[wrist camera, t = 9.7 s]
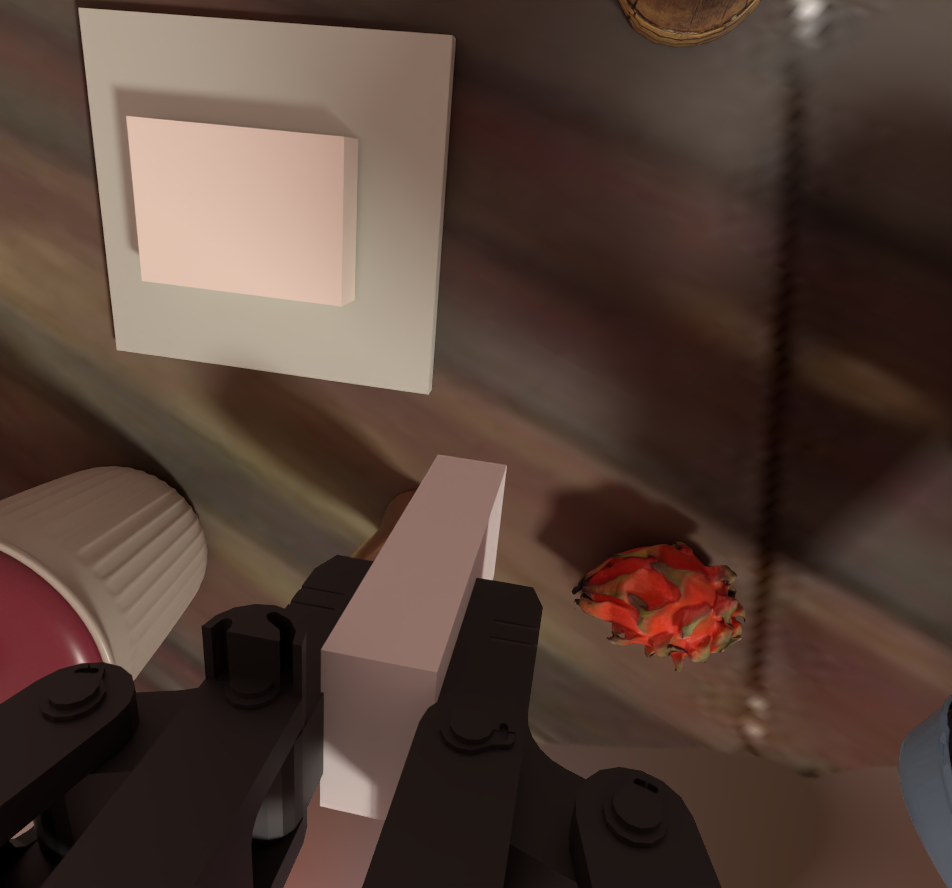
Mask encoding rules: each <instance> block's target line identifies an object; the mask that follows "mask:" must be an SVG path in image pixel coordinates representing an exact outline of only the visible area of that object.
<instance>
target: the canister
mask: <svg viewBox="0 0 952 888" xmlns="http://www.w3.org/2000/svg"><path fill="white" fill-rule="evenodd" d="M207 552H208V548H207V546H206V537H205V535H204V533H203V527H202V525H201V524H200V523H199V520H198V516H197V515H196V514H195V513H194V511H193V510H192V506H190V505H189V504H188V503H187V502H186V501H185V498H184V497H182V496H181V495H180V494H178V492H177V491H176V489H174V488H172V487H170V486H169V485H168V484H167V483H166V482H165V481H162V480H160V479H158V478H157V477H156V476H154V475H149V474H147V473H146V472H144V471H142V470H135V469H133V468H130V467H119V466H108V467H95V468H91V469H88V470H83V471H79V472H76V473H73V474H70V475H67V476H64V477H61V478H59V479H56V480H53V481H50V482H47V483H45V484H42V485H39V486H36V487H34V488H31V489H28V490H26V491H23V492H21V493H18V494H15V495H13V496H10V497H8V498H5V499H3V500H0V704H1V703H3V702H4V701H6V700H7V699H9V698H10V697H12V696H14V695H15V694H17V693H18V692H20V691H21V690H23V689H24V688H26V687H28V686H29V685H31V684H32V683H34V682H35V681H37V680H39V679H41V678H43V677H45V676H47V675H49V674H51V673H53V672H55V671H57V670H59V669H62V668H66V667H69V666H73V665H77V664H81V663H95V662H105V663H109V664H113V665H117V666H121V667H122V668H124V669H125V670H126V671H127V672H129V673H130V674H131V675H132V677H133V681H134V680H135V678H136V677H137V676H138V674H139V673H140V672H141V670H142V669H143V668H144V666H145V665H146V664H147V662H148V661H149V660H150V658H151V657H152V656H153V654H154V653H155V652H156V650H157V649H158V647H159V646H160V645H161V643H162V642H163V641H164V639H165V638H166V636H167V635H168V634H169V632H170V631H171V629H172V628H173V627H174V625H175V624H176V622H177V621H178V620H179V618H180V617H181V615H182V614H183V612H184V611H185V609H186V608H187V607H188V605H189V604H190V602H191V601H192V599H193V598H194V596H195V595H196V593H197V591H198V589H199V587H200V584H201V582H202V580H203V578H204V575H205V568H206V566H207Z"/></svg>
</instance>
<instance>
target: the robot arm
mask: <svg viewBox="0 0 952 888" xmlns="http://www.w3.org/2000/svg"><path fill="white" fill-rule="evenodd" d="M506 469H507V465H502V464H496V463H489V462H483V461H476V460H470V459H463V458H457V457H450V456H444V455H438V456H437V457H436V459H435V461H434V462H433V464H432V466H431V467H430V469H429V471H428V472H427V474H426V476H425V477H424V479H423V481H422V482H421V484H420V486H419V487H418V489H417V491H416V492H415V494H414V496H413V497H412V499H411V501H410V502H409V504H408V506H407V507H406V509H405V511H404V512H403V514H402V516H401V517H400V519H399V521H398V522H397V524H396V526H395V527H394V529H393V531H392V532H391V534H390V536H389V537H388V539H387V541H386V542H385V544H384V546H383V547H382V549H381V551H380V552H379V554H378V556H377V557H376V559H375V561H369V560H363V559H357V558H352V557H346V556H341V555H336V556H335V557H333V558H331V559H330V560H328V561H326V562H325V563H323V564H321V565H320V566H318V567H316V568H315V569H314V570H313V572H312V573H311V574H310V576H309V577H308V578H307V580H306V581H305V582H304V584H303V585H302V588H301V590H300V589H299V591H298V592H297V593H296V595H295V596H294V597H293V599H292V600H291V603H290V605H289V604H288V605H287V607H286V608H285V609H284V608H281V607H278V606H275V605H261V604H253V605H247V606H241V607H235V608H232V609H230V610H228V611H225V612H223V613H220V614H218V615H216V616H214V617H213V618H212V619H211V620H209V621H208V622H207V623H206V624H204V625H203V626H202V636H203V649H204V662H205V675H206V679H205V680H204V681H203V683H202V684H201V685H200V686H199V688H194V689H187V690H179V691H159V692H140V693H136V691H135V686H134V681H133V677H132V675H131V674H130V673H129V672H127V671H126V670H125V669H124V668H122V667H121V666H117V665H113V664H109V663H105V662H95V663H81V664H77V665H73V666H69V667H66V668H62V669H59V670H57V671H55V672H53V673H51V674H49V675H47V676H45V677H43V678H41V679H39V680H37V681H35V682H34V683H32V684H31V685H29V686H28V687H26V688H24V689H23V690H21V691H20V692H18V693H17V694H15V695H14V696H12V697H10V698H9V699H7V700H6V701H4V702H3V703H1V704H0V888H283V887H284V885H285V883H286V880H287V878H288V876H289V874H290V872H291V869H292V867H293V865H294V863H295V860H296V858H297V856H298V854H299V851H300V849H301V847H302V845H303V842H304V838H305V834H306V829H307V807H308V805H309V803H310V801H311V798H312V796H313V794H314V792H315V790H316V788H317V786H318V784H319V781H320V806H322V807H327V808H331V809H336V810H340V811H344V812H349V813H353V814H358V815H362V816H366V817H371V818H375V819H379V820H384V821H385V823H384V826H383V828H382V831H381V834H380V837H379V840H378V843H377V846H376V849H375V852H374V855H373V858H372V861H371V863H370V867H369V869H368V872H367V875H366V878H365V881H364V884H363V887H362V888H721V885H720V883H719V880H718V878H717V875H716V873H715V870H714V868H713V866H712V863H711V860H710V858H709V855H708V853H707V850H706V848H705V845H704V843H703V840H702V838H701V835H700V833H699V831H698V828H697V826H696V823H695V821H694V818H693V816H692V815H691V813H690V811H689V810H688V808H687V806H686V805H685V803H684V802H683V800H682V798H681V797H680V796H679V795H678V794H677V793H675V792H674V791H673V790H672V789H671V788H670V787H669V786H668V785H666V784H665V783H664V782H663V781H661V780H659V779H657V778H655V777H653V776H651V775H649V774H647V773H645V772H643V771H639V770H633V769H627V768H622V767H617V768H611V769H605V770H599V771H598V772H596V773H595V774H594V775H592V776H590V777H589V778H587V779H584V778H582V777H580V776H578V775H577V774H575V773H573V772H571V771H569V770H567V769H565V768H563V767H562V766H560V765H559V764H557V763H555V762H554V761H552V760H551V759H550V758H549V757H548V756H547V755H545V753H544V752H543V751H542V750H540V748H539V746H538V745H537V743H536V742H535V740H534V739H533V737H532V735H531V732H530V729H529V726H528V708H529V701H530V694H531V687H532V680H533V673H534V666H535V658H536V651H537V644H538V637H539V630H540V623H541V616H542V609H543V607H542V605H541V603H540V601H539V598H538V596H537V594H536V592H535V590H534V588H533V587H527V586H522V585H516V584H510V583H505V582H499V581H493V576H494V570H495V561H496V553H497V544H498V536H499V528H500V519H501V511H502V502H503V494H504V485H505V477H506ZM898 772H899V780H900V785H901V789H902V793H903V797H904V800H905V803H906V806H907V809H908V812H909V814H910V817H911V819H912V821H913V824H914V826H915V828H916V831H917V833H918V835H919V837H920V839H921V841H922V843H923V845H924V847H925V849H926V851H927V853H928V854H929V856H930V858H931V860H932V862H933V863H934V866H935V867H936V869H937V871H938V872H939V874H940V876H941V877H942V879H943V881H944V882H945V884H946V885H947V887H948V888H952V694H951V695H950V696H949V697H948V698H947V699H946V700H945V702H944V704H943V706H942V708H940V709H939V710H938V711H936V712H935V713H934V714H932V715H931V716H930V717H928V718H927V719H926V720H924V721H923V722H922V723H920V724H919V725H918V726H916V727H915V728H914V729H912V730H911V731H910V732H909V733H908V734H907V736H906V737H905V738H904V740H903V742H902V744H901V750H900V759H899V762H898ZM31 821H33V822H34V826H33V827H32V828H31V829H29V830H28V831H27V832H25V833H23V834H22V835H20V836H19V837H17V838H15V839H11V838H12V837H13V836H14V835H16V834H17V833H18V832H19V831H20V830H22V829H23V828H24V827H25V826H27V825H28V824H29V823H30V822H31Z"/></svg>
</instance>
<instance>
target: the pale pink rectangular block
mask: <svg viewBox="0 0 952 888" xmlns="http://www.w3.org/2000/svg"><path fill="white" fill-rule="evenodd" d="M126 119H127V129H128V140H129V151H130V161H131V172H132V182H133V193H134V203H135V214H136V225H137V235H138V246H139V256H140V267H141V277H142V281H146V282H154V283H162V284H170V285H177V286H185V287H193V288H201V289H209V290H216V291H224V292H232V293H240V294H248V295H255V296H263V297H271V298H279V299H287V300H294V301H302V302H310V303H318V304H325V305H333V306H341V307H342V306H344V305H346V304H348V303H350V302H352V301H354V300H355V265H356V222H357V178H358V139H355V138H349V137H342V136H331V135H321V134H310V133H300V132H289V131H279V130H268V129H258V128H247V127H237V126H226V125H216V124H205V123H195V122H184V121H174V120H163V119H153V118H142V117H132V116H126Z"/></svg>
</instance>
